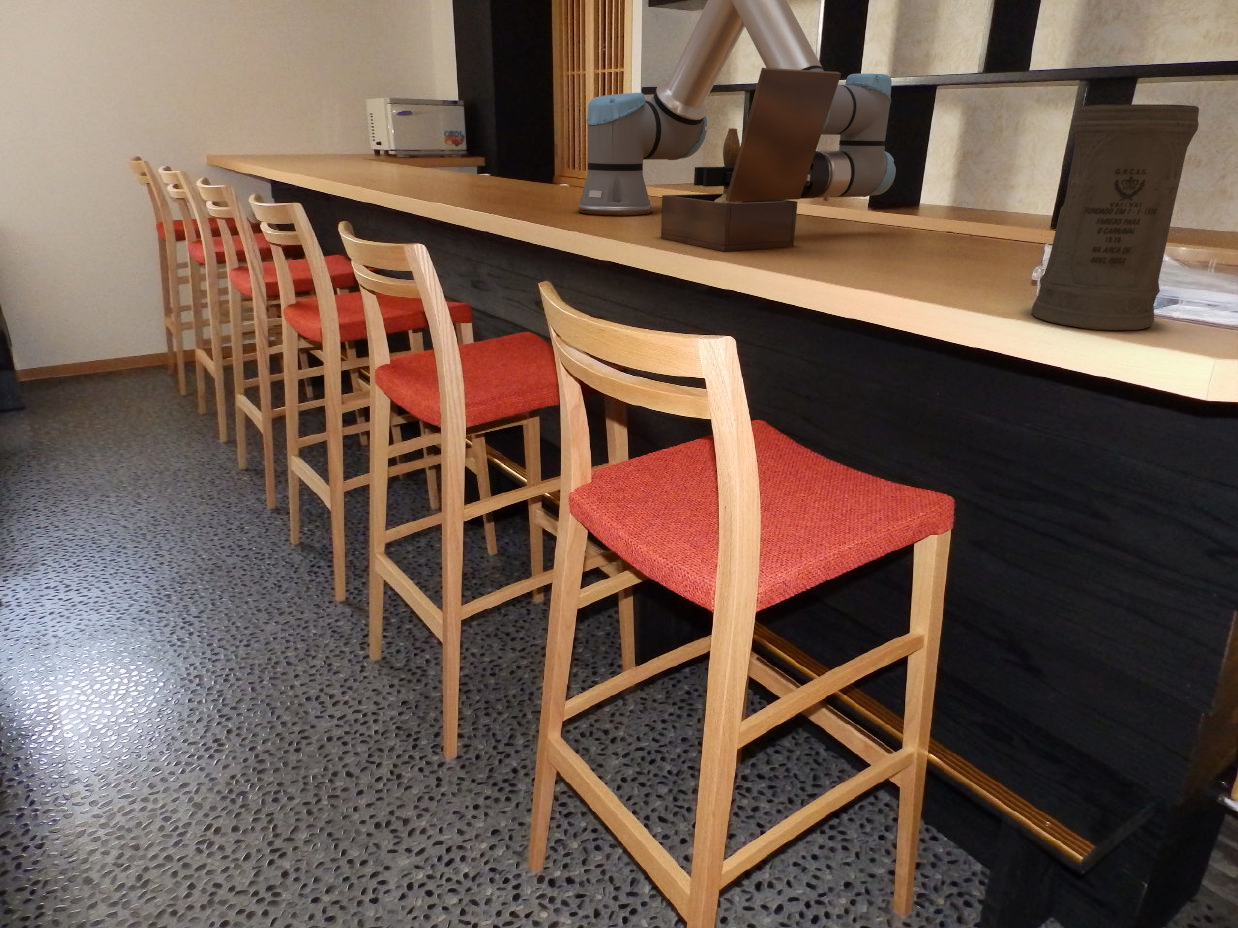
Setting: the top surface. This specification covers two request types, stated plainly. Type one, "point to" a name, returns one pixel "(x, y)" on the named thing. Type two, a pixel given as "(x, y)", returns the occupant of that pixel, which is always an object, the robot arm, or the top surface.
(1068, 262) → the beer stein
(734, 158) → the wooden handled brush
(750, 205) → the chest
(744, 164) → the chest lid
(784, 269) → the top surface
